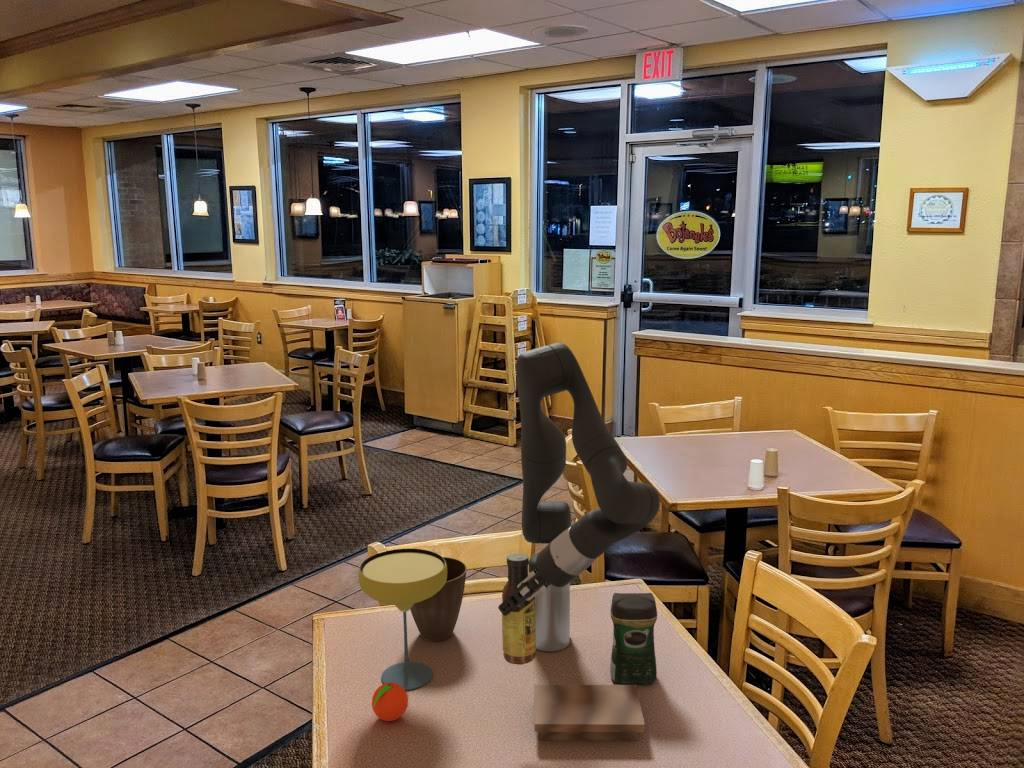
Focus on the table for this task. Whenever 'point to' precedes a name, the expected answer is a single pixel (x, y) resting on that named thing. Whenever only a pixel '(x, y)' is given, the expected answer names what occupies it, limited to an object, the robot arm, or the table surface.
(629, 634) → the coffee jar
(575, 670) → the table surface
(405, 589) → the cocktail glass
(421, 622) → the plant pot
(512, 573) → the sauce bottle
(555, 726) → the walnut shelf
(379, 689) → the clementine
